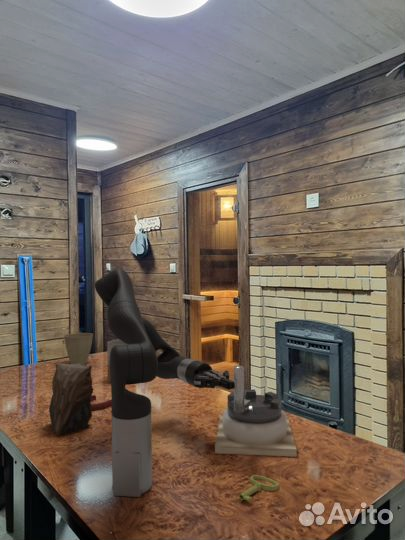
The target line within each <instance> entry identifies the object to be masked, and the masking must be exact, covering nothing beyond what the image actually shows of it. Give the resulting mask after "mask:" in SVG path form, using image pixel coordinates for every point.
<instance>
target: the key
mask: <svg viewBox="0 0 405 540" xmlns="http://www.w3.org/2000/svg"><path fill="white" fill-rule="evenodd" d="M257 480H263V481H266V482H269V483H271V484H272V485H271V484H270V485H269V484H265V483H262V482H260V481H257ZM249 483H250V484H251V485H252V486H251V487H249V488H248V489H247V490H244V491H243V492H241V493H240V494H238V498H239V500H241V501H243V500H245V501H247V502H250V501H252V500H253V497H252V496H251V495H253V494H254V493H256V492H260V491H261V490H264V491H267V492H268V491H269V492H276V491H278V490H279V489H280V483H279V482H278V481H276V480H274V479H272V478H270V477H266V476H264V475H258V474H254V475H253V474H252V475H251V476H250V477H249Z"/></svg>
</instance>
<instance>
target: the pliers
mask: <svg viewBox="0 0 405 540" xmlns="http://www.w3.org/2000/svg"><path fill="white" fill-rule="evenodd" d="M94 400H95V401H97V396H96V395H95V394H92V396H91V400H90V404H91V412H94V411H101V410H105V409H108V408H110V406H111V407H112V399H108V400H106V401H103V402H102V401H101V402H99V403H91V402H95V401H94Z"/></svg>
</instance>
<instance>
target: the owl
mask: <svg viewBox="0 0 405 540" xmlns="http://www.w3.org/2000/svg"><path fill="white" fill-rule="evenodd" d="M92 368H93V367H92V365H87V364H86V365H84V364H83V363H78V364H71V363H70V364H69V363H68V364H67V363H63V362H57V363H56V364H55V372H54V373H53V377H52V380H51V381H52V388H51V389H52V395H51V397H50V404H49V410H48V412H49V413H48V414H49V417H50V422H51V429H52V430H53V434H54V435H55V437H56V438H59V437H61V436H65V435H69V434H71V433H75V432H78V431H80V430H84V429H88V428H89V427H90V426H91V425H90V424H89V422H90V420H91V418H92V417H93V413H92V412H93V411H91V404H92V403H91V402H90V400H91V396H92V395H93V393H94V388H93V379H92V378H93V377H92Z"/></svg>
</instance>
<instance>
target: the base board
mask: <svg viewBox="0 0 405 540" xmlns="http://www.w3.org/2000/svg"><path fill="white" fill-rule="evenodd" d="M218 422H219V423H218V426H217V427H218V428H217V433H216V437H215V443H214V454H220V455H221V454H222V455H223V454H225V455H242V456H243V455H246V456H270V457H272V456H273V457H293V458H294V457H295V458H296V457H297V456H298V455H297V450H298V449H297V447H296V443H295V438H294V436H293V432H292V428H291V424H290V421H289V418H288V417H287V436H286V437H285V438H284V439H283V440H282V441H280V442H277V443H274V444H269V445H247V444H242V443H238V442H235V441H233V440H230V439H229V438H227V437H226V436H225V435H224V433H223V415H220V417H219V421H218Z"/></svg>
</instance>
